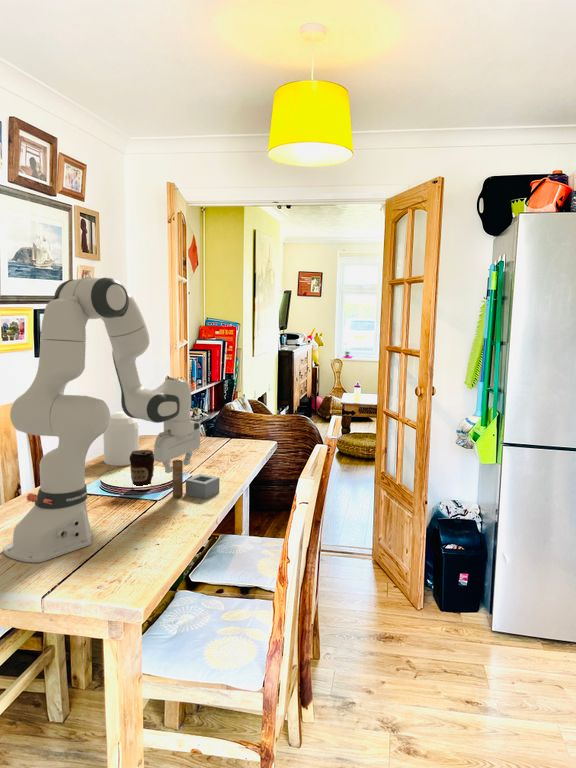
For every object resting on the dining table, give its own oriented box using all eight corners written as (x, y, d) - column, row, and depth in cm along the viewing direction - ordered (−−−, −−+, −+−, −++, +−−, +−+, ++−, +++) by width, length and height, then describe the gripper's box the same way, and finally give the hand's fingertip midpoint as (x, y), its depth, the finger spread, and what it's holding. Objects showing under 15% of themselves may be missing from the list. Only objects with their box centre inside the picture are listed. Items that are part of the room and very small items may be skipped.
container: (137, 455, 239) (136, 407, 237) (141, 464, 227) (140, 413, 224) (102, 457, 235) (101, 408, 232) (105, 466, 222) (104, 415, 219)
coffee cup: (148, 494, 193) (147, 455, 191) (125, 491, 194) (124, 454, 193) (159, 486, 201) (158, 449, 199) (136, 483, 203) (136, 447, 201)
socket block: (205, 498, 190) (205, 484, 189) (185, 494, 193) (185, 480, 193) (219, 492, 197) (219, 477, 196) (200, 487, 200) (200, 473, 200)
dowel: (178, 498, 189) (178, 463, 187) (170, 497, 190) (170, 461, 189) (184, 496, 192) (184, 460, 190) (176, 494, 193) (176, 459, 191)
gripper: (164, 435, 178) (165, 478, 180) (203, 422, 195) (203, 462, 198) (148, 432, 180) (149, 475, 183) (188, 420, 198) (188, 459, 201)
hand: (177, 468), depth 190 cm, fingers open, 8 cm apart
